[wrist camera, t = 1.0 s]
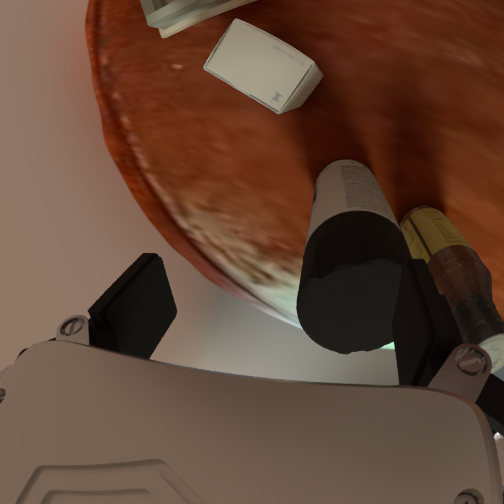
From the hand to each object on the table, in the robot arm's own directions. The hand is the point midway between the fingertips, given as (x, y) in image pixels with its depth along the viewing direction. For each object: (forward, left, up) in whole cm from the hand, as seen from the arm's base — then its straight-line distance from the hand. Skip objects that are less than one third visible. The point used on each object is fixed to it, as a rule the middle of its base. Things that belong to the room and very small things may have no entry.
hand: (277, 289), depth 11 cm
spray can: (-3, +4, -23) cm, 23 cm away
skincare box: (0, -9, -23) cm, 24 cm away
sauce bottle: (-11, +10, -23) cm, 27 cm away
